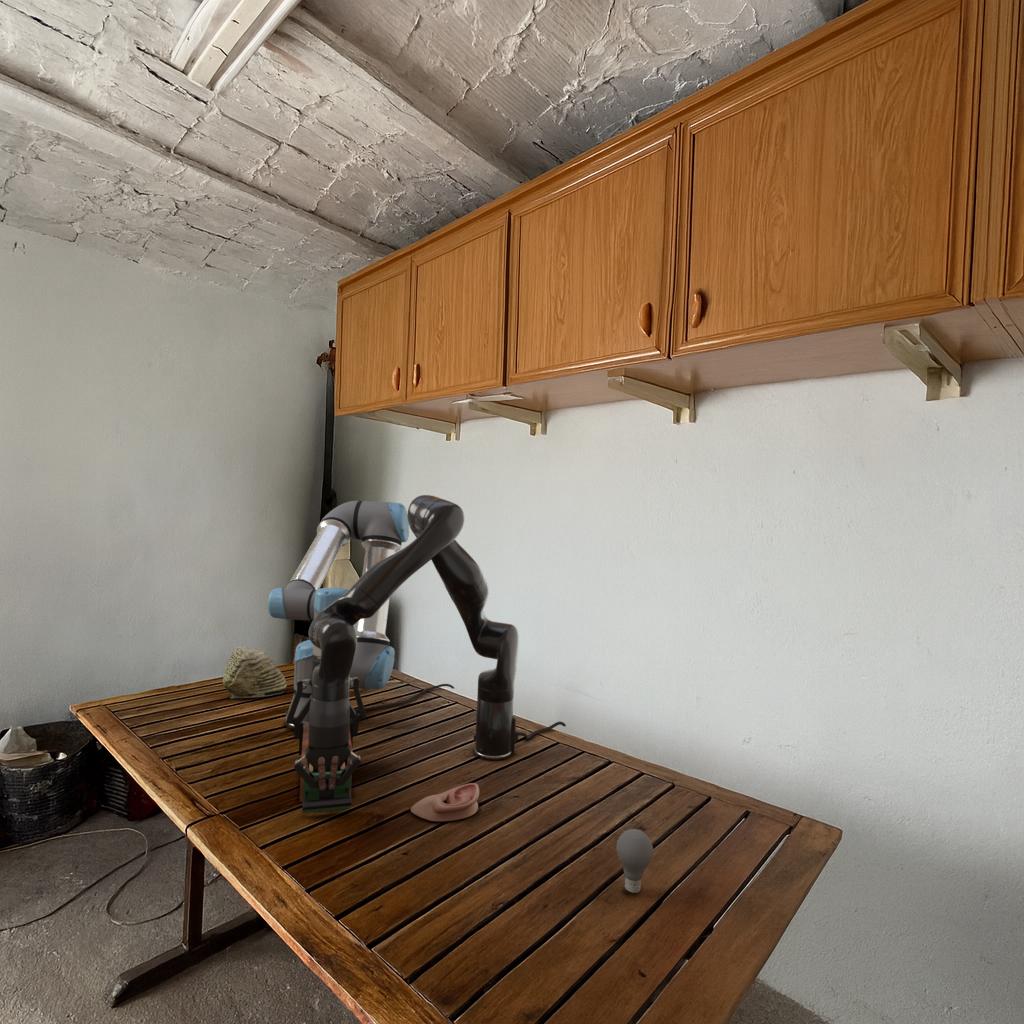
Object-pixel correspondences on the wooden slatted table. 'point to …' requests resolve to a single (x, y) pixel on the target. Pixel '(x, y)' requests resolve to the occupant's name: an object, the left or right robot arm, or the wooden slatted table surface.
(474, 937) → the wooden slatted table surface
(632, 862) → the light bulb
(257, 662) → the fossil
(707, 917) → the wooden slatted table surface
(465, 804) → the anatomical model
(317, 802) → the drawer
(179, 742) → the wooden slatted table surface
